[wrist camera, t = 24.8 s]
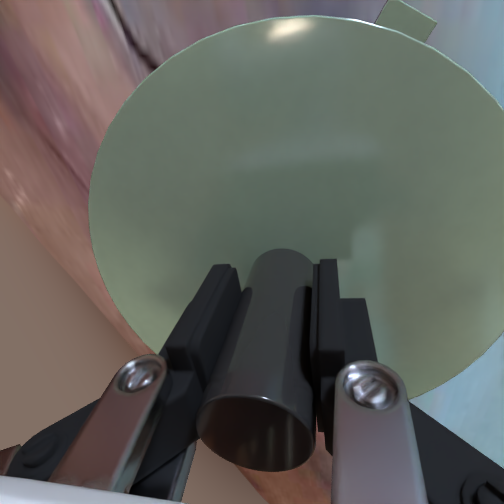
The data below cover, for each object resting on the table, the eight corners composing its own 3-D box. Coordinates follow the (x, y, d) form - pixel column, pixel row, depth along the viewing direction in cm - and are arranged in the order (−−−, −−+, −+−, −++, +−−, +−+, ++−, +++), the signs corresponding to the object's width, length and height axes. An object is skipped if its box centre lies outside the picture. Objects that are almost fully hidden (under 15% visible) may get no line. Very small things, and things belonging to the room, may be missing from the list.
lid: (79, 305, 16) (-70, 443, 10) (164, -98, 8) (-323, -659, 2) (345, 436, 17) (358, 638, 11) (659, 187, 9) (1392, 416, 3)
